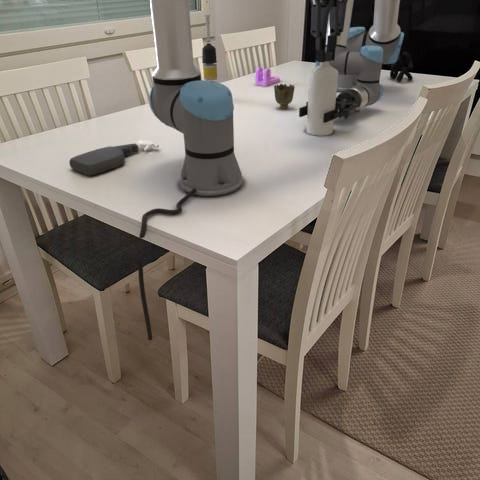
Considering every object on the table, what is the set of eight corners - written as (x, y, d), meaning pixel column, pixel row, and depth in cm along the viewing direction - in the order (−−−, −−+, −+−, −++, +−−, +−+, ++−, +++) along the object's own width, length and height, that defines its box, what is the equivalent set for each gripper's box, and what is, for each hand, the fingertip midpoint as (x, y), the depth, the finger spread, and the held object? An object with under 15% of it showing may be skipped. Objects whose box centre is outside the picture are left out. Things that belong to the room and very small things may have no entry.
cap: (330, 61, 129) (331, 53, 128) (316, 61, 130) (317, 52, 129) (333, 59, 132) (333, 51, 131) (320, 58, 133) (320, 50, 132)
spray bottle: (67, 168, 120) (139, 144, 136) (91, 178, 114) (163, 151, 130) (65, 157, 118) (137, 134, 134) (89, 167, 112) (162, 142, 128)
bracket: (265, 86, 195) (266, 69, 191) (255, 84, 197) (255, 68, 194) (281, 80, 203) (282, 64, 200) (271, 79, 206) (271, 63, 203)
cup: (270, 109, 164) (270, 87, 160) (278, 104, 169) (278, 82, 165) (289, 111, 161) (290, 89, 157) (296, 106, 166) (297, 84, 162)
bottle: (311, 136, 138) (317, 58, 126) (302, 128, 145) (306, 53, 133) (337, 134, 140) (344, 56, 128) (326, 126, 147) (333, 51, 135)
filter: (220, 99, 177) (217, 15, 161) (206, 100, 176) (202, 16, 160) (215, 96, 182) (212, 14, 166) (202, 97, 180) (197, 14, 164)
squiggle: (400, 92, 202) (376, 71, 205) (417, 76, 202) (392, 56, 205) (405, 81, 191) (380, 59, 194) (423, 64, 191) (397, 42, 194)
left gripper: (321, -32, 112) (314, 66, 124) (363, -34, 121) (353, 58, 133) (300, -32, 117) (295, 62, 130) (342, -33, 126) (334, 55, 138)
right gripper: (378, 117, 146) (340, 134, 132) (324, 106, 159) (284, 120, 145) (382, 94, 142) (343, 109, 128) (326, 84, 155) (285, 97, 141)
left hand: (325, 60), depth 131 cm, fingers closed on cap, 4 cm apart
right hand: (312, 115), depth 137 cm, fingers closed on bottle, 8 cm apart
